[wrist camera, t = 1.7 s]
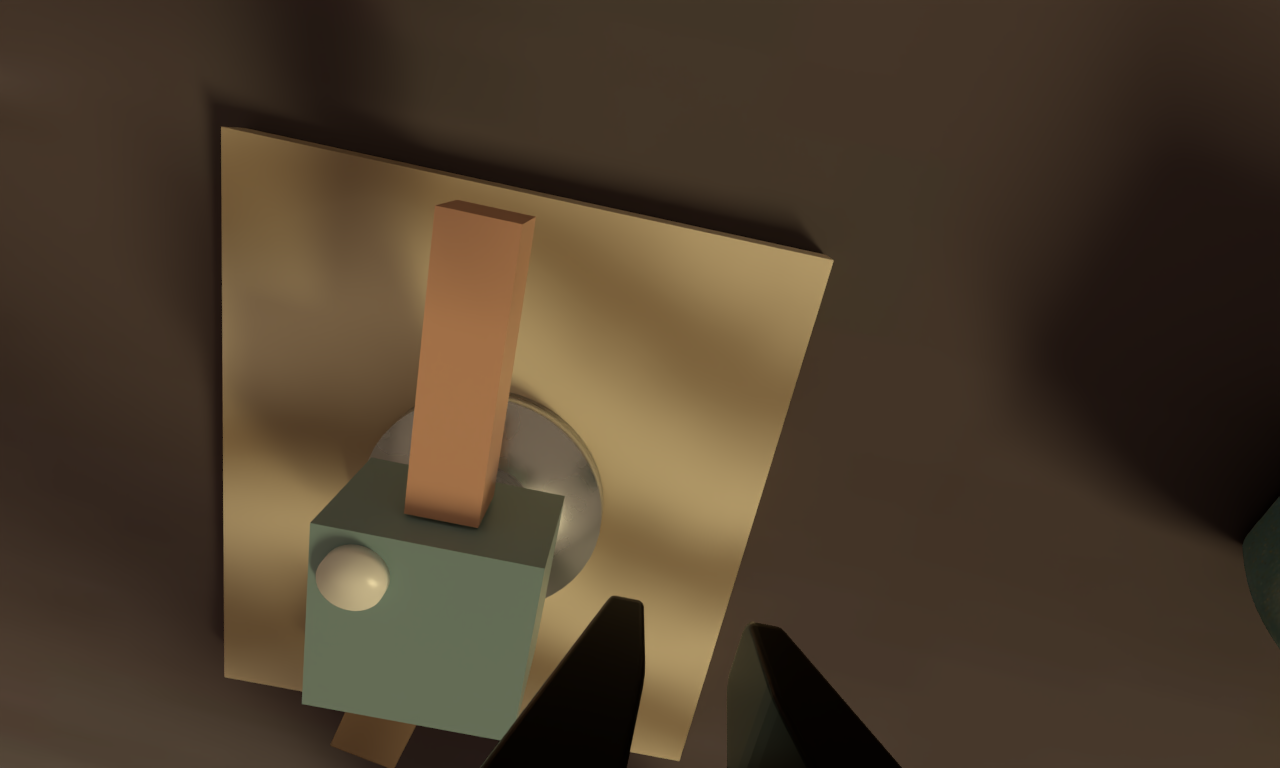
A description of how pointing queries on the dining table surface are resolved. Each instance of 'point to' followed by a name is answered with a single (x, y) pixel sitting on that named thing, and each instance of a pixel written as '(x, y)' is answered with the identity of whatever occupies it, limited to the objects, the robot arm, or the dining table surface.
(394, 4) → the dining table surface
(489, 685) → the cap
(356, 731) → the block
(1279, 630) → the flower pot
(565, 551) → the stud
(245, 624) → the board
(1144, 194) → the dining table surface
